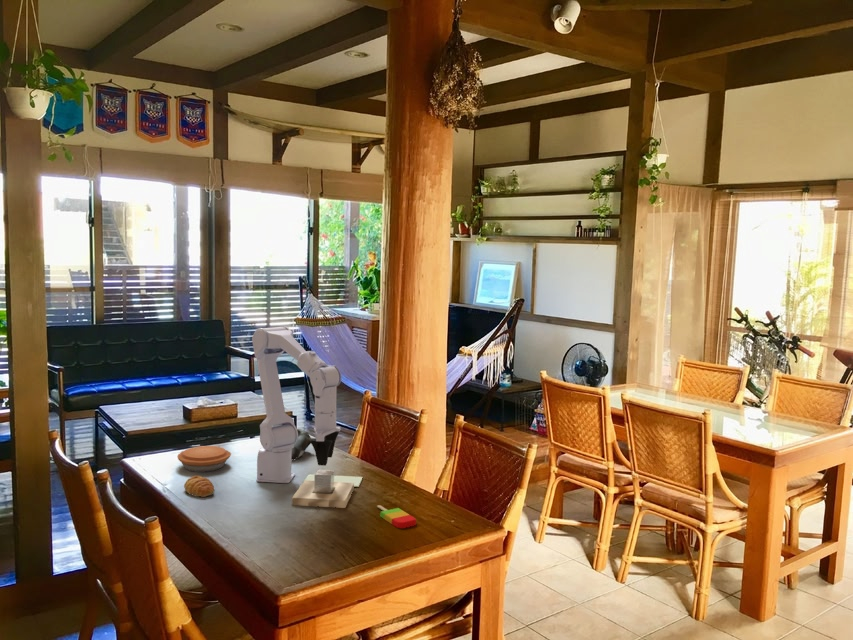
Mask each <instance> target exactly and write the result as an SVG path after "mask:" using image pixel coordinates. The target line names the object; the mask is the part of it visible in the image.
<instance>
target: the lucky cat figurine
mask: <svg viewBox="0 0 853 640" xmlns="http://www.w3.org/2000/svg"><path fill="white" fill-rule="evenodd" d="M276 426H281V424H277V425H273V426H272V427H276ZM296 429H297V431H298V440H297V442H296V443H295V444H294V448H292V457H291V461H295V460H294V459H296V460H297V459H299V458H300V457H301V456H303V455H304V454H305V451H306V450H307V448H308V447H310V445H312V444H311V439H312V438H313V437H311V436H310V434H309V433H308V432H307V430H305V429H301V428H296ZM292 459H293V460H292Z"/></svg>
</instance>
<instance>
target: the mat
mask: <svg viewBox="0 0 853 640" xmlns="http://www.w3.org/2000/svg"><path fill="white" fill-rule="evenodd" d="M362 478H364V477H363V476H355V475H353V476H351V475H335V474H334V482H345V483H354V487H360V485H361V484H362V481H363V479H362ZM304 480H307V481H315V473H313V474H312V473H309V474H308V475H307V476H306V477H305V479H304Z"/></svg>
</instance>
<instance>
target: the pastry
mask: <svg viewBox="0 0 853 640" xmlns="http://www.w3.org/2000/svg"><path fill="white" fill-rule="evenodd" d="M183 487H184V491H185V492H186V493H187V494H188V493H190V494H189V495H191V494H193V495H192V496H194V495H196V496H195V497H197V496H201V497H200V498H204V497H207V496H212V495H213V494H214V493H215V492H216V490H215V487H214V485H213V482H212V481H211V480H210V479H209V478H207V477H204V476H203V477H202V476H201V475H193V476H191V477H190V478H188V479H187V480H186V481H185V483H184V485H183Z"/></svg>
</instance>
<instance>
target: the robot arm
mask: <svg viewBox="0 0 853 640" xmlns="http://www.w3.org/2000/svg"><path fill="white" fill-rule="evenodd" d="M251 342H252V347H253V353H254V354H253V355H254V357H255V358H256V363H257V369H258V374H259V375H258V376H259V378H260V379H259V380H260V386H261V391H262V396H263V397H262V398H263V402H264V408H265V414H266V415H265V416H266V418H264V419H263V421H262V422H261V423H260V424H259V429H260V430H259V431H260V433H259V441H260V444H261V445H260V446H262V447H261V448H259V450H258V451H257V457H256V458H257V459H256V479H255V480H256V482H258V483H259V482H262V483H275V484H276V483H278V484H279V483H280V484H289V483H290V482H291V481H292V480H293V478H294V477H295V475H296V473H295V472H292V460H291V457H292V448H294V444H295V443H296V442H297V440H298V431H297V429H298V428H297V427H296V425H295V421H294V418H293V417H291V416H290V415H288V414H287V413H286V411H285V410H286V409H285V403H284V398H283V393H282V389H281V388H282V387H281V383H280V376H279V370H278V365H277V359H279V356H282V355H283V353H284V352H286V353H287V354H288V355H290V357H292V358H293V359H295V360H296V361H297V363H296V365H297V367H298V369H300V370H301V371H302V372H303V373H304V374H305V375H306V376H307V377H308V378H309V380H310V384H311V386H312V393H313V395H314V427H313V432H314V433H315V438H313V437H311V438H312V439H311V444H310V445H311V446H312V447H313V450H314V453H315V457H316V462H317V466H322V467H325V466H327V464H328V459H329V458H332V457H333V454H334V451H335V450H334V449H335V444H336V441H337V437H338V436H339V433H340V431H341V429H342V428H341V426H337V388H338V386H340V384H341V382H342V373H341V371H340V368H338V367H337V365H334V364H333V365H332V364H331V365H330V364H327V362H325V360H323V359H321V357H320V356H319V355H317V352H315V350H313V351H312V350H307V351H306V349H305V348H304V347H303V346H302V345H301V344H300V343H299V342H298V341H297V340H296V339H295V338H294V334H293V330H290V328H289V327H288V326H279V327H278V326H277V327H275V326H274V327H263V328H262V327H259V328H256V329H255V331H254V332H253V335H252V337H251ZM277 424H281V426H276V427H272V426H273V425H277Z"/></svg>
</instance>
